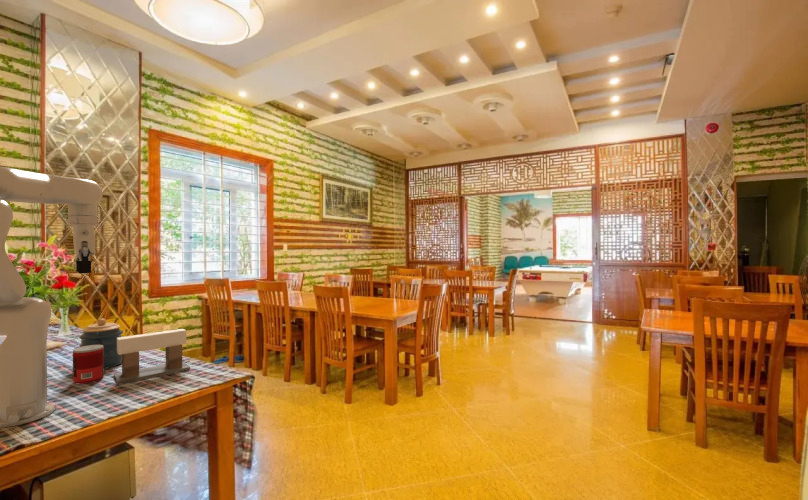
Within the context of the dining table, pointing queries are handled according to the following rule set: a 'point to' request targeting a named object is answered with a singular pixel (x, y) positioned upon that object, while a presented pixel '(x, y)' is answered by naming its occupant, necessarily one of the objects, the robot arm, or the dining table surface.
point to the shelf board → (150, 341)
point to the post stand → (134, 373)
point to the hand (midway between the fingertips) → (83, 272)
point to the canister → (104, 340)
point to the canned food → (88, 364)
